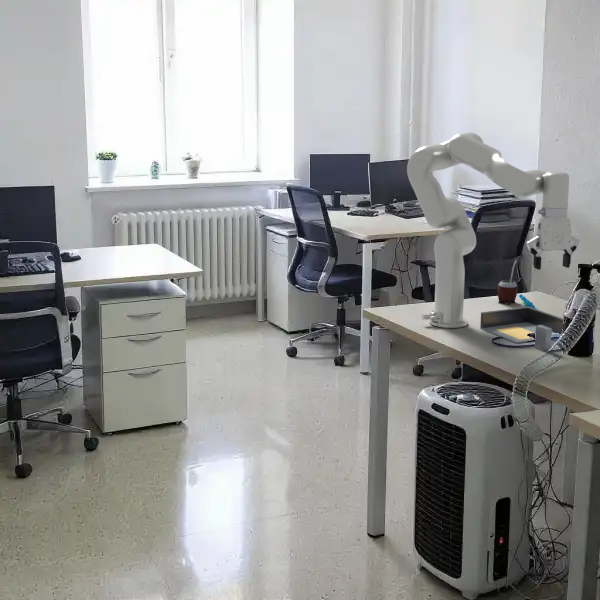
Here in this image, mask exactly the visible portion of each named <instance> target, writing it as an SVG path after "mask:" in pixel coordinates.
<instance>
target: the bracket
mask: <svg viewBox="0 0 600 600" xmlns="http://www.w3.org/2000/svg"><path fill="white" fill-rule="evenodd" d="M551 336H552V329H551V328H548V327H546V326H543V325H536V332H535V341H534V348H535V349H537V350H540V351H542V352H545V353H546V351H548V350H549V349H550V348H551V347H552V346H553V345H554V343H555V342H557V341H556V340H554V339H553V340H552V339H551ZM548 352H549V351H548Z"/></svg>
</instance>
